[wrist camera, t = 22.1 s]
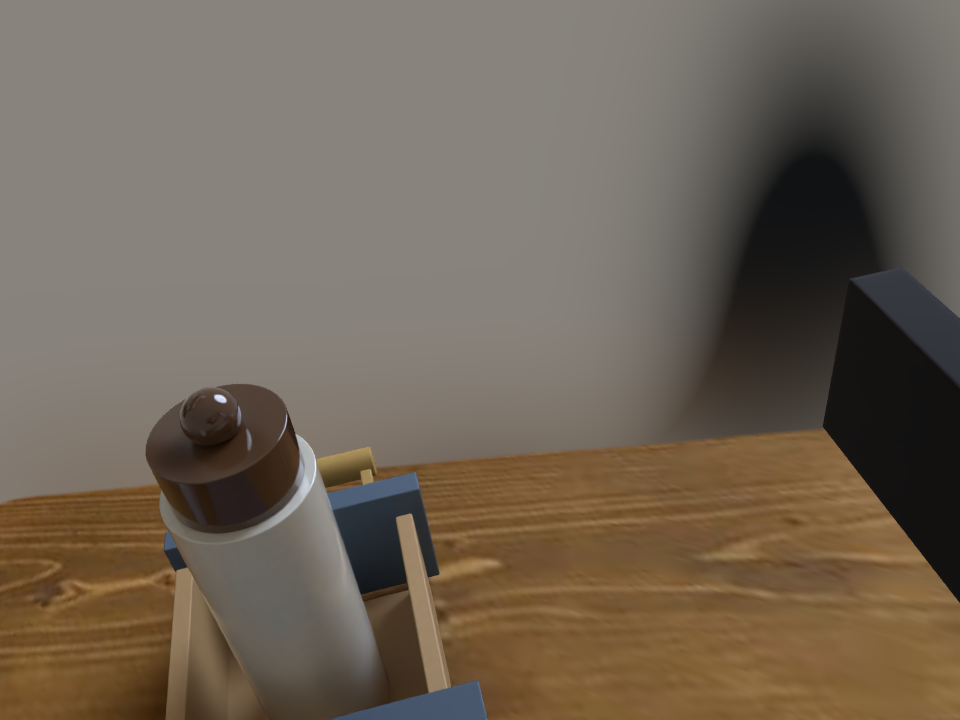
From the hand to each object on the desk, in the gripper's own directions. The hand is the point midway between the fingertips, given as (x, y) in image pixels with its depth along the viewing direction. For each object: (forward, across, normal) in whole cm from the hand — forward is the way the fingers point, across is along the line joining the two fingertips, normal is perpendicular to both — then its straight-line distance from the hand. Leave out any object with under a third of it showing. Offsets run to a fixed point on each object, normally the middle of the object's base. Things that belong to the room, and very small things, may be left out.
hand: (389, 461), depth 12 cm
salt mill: (+15, -6, -28) cm, 32 cm away
